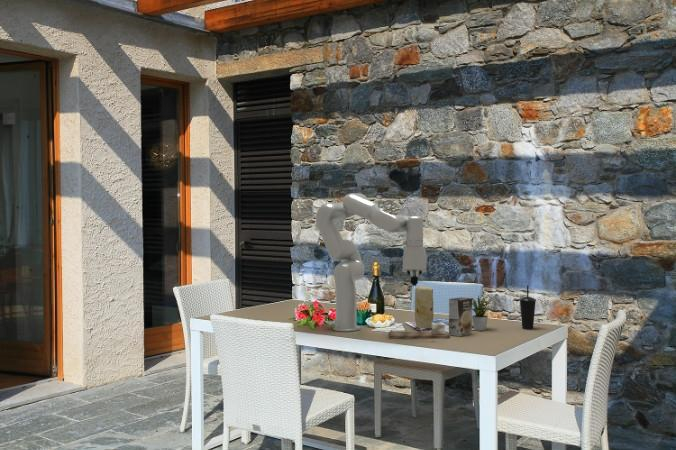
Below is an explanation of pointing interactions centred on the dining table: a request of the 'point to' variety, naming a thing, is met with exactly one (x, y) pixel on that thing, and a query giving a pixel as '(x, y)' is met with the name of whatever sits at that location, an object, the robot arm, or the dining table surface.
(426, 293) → the food model
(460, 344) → the dining table surface
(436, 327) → the bead
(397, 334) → the board
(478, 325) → the house plant
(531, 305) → the drinking cup
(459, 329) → the coffee box
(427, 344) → the dining table surface
